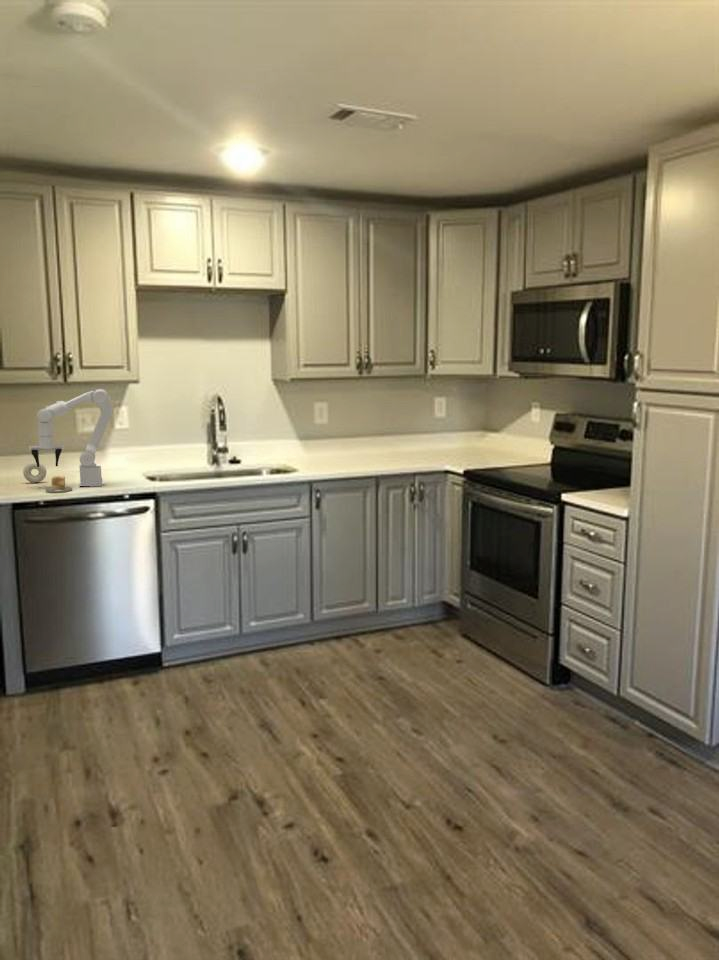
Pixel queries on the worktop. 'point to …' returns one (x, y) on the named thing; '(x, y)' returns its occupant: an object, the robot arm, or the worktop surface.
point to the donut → (30, 477)
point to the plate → (58, 490)
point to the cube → (58, 482)
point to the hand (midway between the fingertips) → (47, 466)
